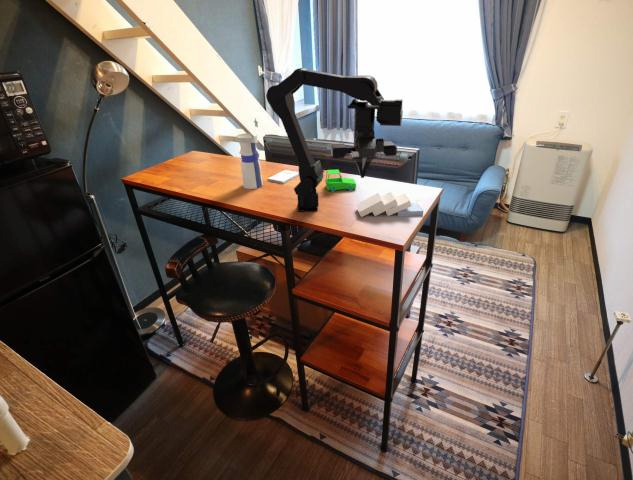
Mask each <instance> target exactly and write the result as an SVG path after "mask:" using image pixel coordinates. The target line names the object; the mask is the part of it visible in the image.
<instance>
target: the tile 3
mask: <svg viewBox="0 0 633 480" xmlns="http://www.w3.org/2000/svg"><path fill="white" fill-rule="evenodd" d="M394 198H395V199H396V201H397V204H398V205H396V206H394V207H392V208H390V209H388V210H386V211H384V212H385V214H386V215H387V217H389V216H392V215H394V214H397V212H399V211H401V210H404V209H406V208H409V207H411V206H412V205H411V200H410V199H409V198H408V196H407V195H406V193H403V194H400V195H398V196H395V197H394Z"/></svg>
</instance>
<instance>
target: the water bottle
mask: <svg viewBox="0 0 633 480" xmlns="http://www.w3.org/2000/svg"><path fill="white" fill-rule="evenodd" d="M253 122H254V126H255V127H256V128H259V126H258V123H259V122H258V121H257V118H256V117H255V118H254V120H253ZM258 139H259V138H258V134H256V135H254V136H252V133H249V132H247V133H246V132H245V133H240V134H236V137H235V139H234V140H235V142H236V143H239V145H240V150H239V154H240V157H241V158H240V159H241V162H240V166H241V175H242V177H241V178H242V187H243V188H244V189H246V190H256V189H259V188H262V187H263V186H264V183H263V178H262V170H261V169H262V168H261V162H260V160H259V158H260V153H259V150H258V149H257V144H259V140H258Z"/></svg>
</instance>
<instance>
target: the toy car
mask: <svg viewBox="0 0 633 480" xmlns="http://www.w3.org/2000/svg"><path fill="white" fill-rule="evenodd" d="M330 175H338V176H339V177H331V178H330ZM324 182H325V186H326V190H327V191H330V192H335V191H338V190H339V191H340V190H348V191H353V190H356V189H357V183H356V181H355V179H354V178H347V177H342V175H341V172H340V170H339V169H327V170H326V177H325V181H324Z"/></svg>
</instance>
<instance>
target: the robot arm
mask: <svg viewBox="0 0 633 480" xmlns="http://www.w3.org/2000/svg"><path fill="white" fill-rule="evenodd" d="M304 85H305V86H310V87H314V88H320V89H325V90H331V91H336V92H340V93H343V94H345V95H347V96H349V97H350V98H353V99H352V101H351V102H350V104H348V105H347V109H349V110H350V109H351V110H354V116H353V117H354V118H353V120H354V121H353V146H346V144H345V143H332V145H331V146H330V154H331V157H332V159H343V158H345V157H346V156H347V154H349V156H350V158H351V160H353V161H355V163H356V166H357V169H358V172H359V175H360V178H361V179H364V178H365V176H366V173H367V171H368V169H369V166H370V164H371V162H372V161H373V160H376V159H377V158H378V156H377V153H383V154H384V155H385V156H386V157H389V156H397V152H398V146H397V145H396V144H395V143H394V142H393V141H390V140H389V141H385V139H384V138H382V137H381V138H376V137H375V136H376V135H375V121H376V122H377V124H379V125H380V127H381V126H383V127H384V126H386V127H401V126H402V123H403V122H402V121H403V115H404V114H403V112H404V111H403V99H402V98H401V99H400V98H398V99H385V98H384V97H383V95H382V94H381V92H380V91H379V89H378V81H377V80H376V78H375V77H374V76H372V75H367V74H366V75H365V74H364V75H340V74H335V73H329V72H325V71H317V70H314V69H308V68H305V67H299V68H296V69H294V70H293V72H292V73H291V74H290V75H288V76H287V77H286V78H285V79H284V80H282V81H280V82H279V83H278V84H273V85H272V86H270V87H269V88H268V89H267V90H266V91H267V92H266V94H265V95H266V96H265V98H266V100H267V103H268V105H269V106H270V108H271V109H272V111H273V113H275V114H276V115H277V117H278V118H279V119H280V120H281V123H282V126H283V128H284V131H285V134H286V136H287V138H288V141H289V143H290V146H291V148H292V151H293V153H294V155H295V158H296V161H297V163H298V172H299V176H298V177H299V183H297V184H296V186H295V187H294V188H293V190H294V193H295V195H297V212H317V211H318V208H319V193H318V192H317V187H318V186H319V184H320V183H321V182H322V181H323V179H324V172H325V170H324V169H323V167H322V164H321V160H317V161H316V160H315V159H314V158H313V156H312V155H311V152H310V149H309V147H308V146H309V145H308V143H307V141H306V138H305V136H304V133H303V131H302V127H301V126H300V123H299V120H298V118H297V115H296V107H295V106H296V105H295V104H296V103H295V99H294V98H295V97H294V94H295V93H296V92H298V91H299V89H300V88H301V87H303V86H304ZM375 119H376V120H375Z"/></svg>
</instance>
